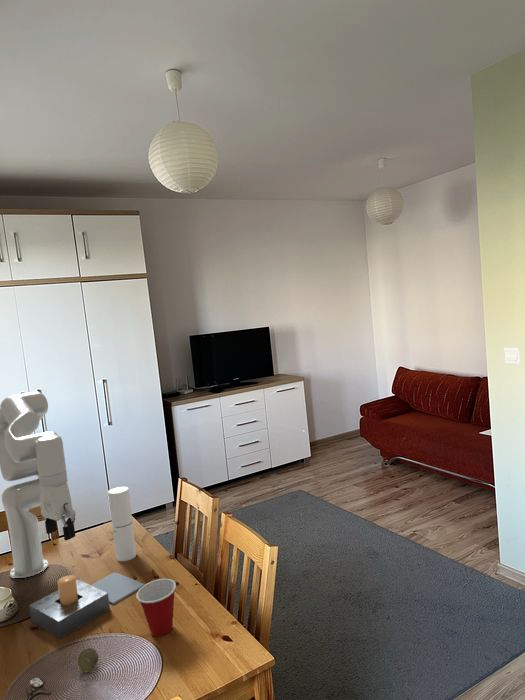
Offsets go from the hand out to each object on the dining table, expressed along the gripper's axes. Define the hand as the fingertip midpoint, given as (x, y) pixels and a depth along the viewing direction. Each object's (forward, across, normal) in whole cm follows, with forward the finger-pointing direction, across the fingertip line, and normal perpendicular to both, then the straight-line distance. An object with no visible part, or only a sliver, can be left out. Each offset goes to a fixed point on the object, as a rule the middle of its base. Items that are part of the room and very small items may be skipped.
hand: (60, 535), depth 150 cm
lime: (+25, +26, -11) cm, 38 cm away
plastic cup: (+25, +30, +9) cm, 40 cm away
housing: (+25, 0, 0) cm, 25 cm away
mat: (+24, -1, +16) cm, 29 cm away
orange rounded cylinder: (+25, 0, 0) cm, 25 cm away
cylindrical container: (+25, -16, +32) cm, 43 cm away
